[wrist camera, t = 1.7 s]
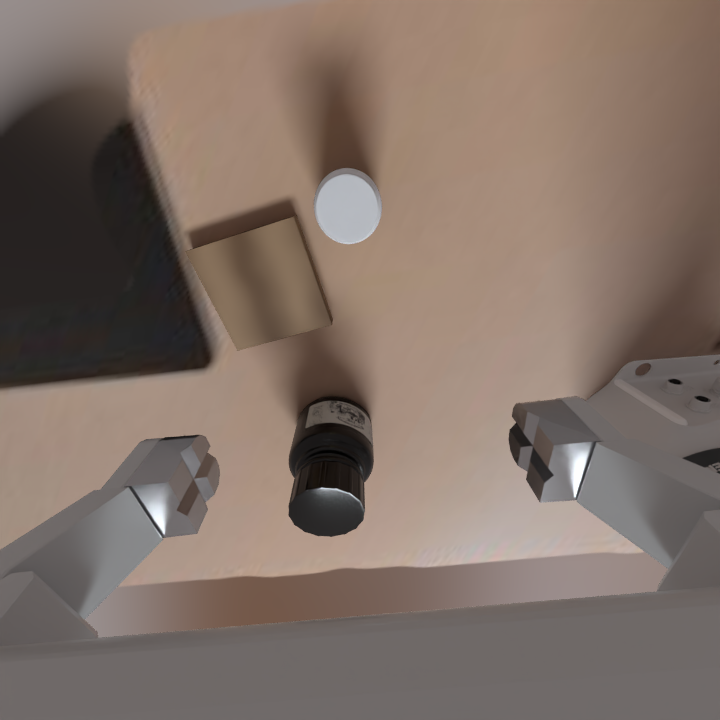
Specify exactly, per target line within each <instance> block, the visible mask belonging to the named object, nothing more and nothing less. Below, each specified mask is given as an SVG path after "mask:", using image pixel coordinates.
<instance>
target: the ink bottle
mask: <svg viewBox="0 0 720 720" xmlns="http://www.w3.org/2000/svg"><path fill="white" fill-rule="evenodd" d="M373 463H374V457H373V439H372V425H371V420H370V417H369V415H368V414H367V412H366V411H365V410H364V409H363V408H362V407H361V406H359V405H358V404H357V403H355V402H353V401H351V400H348V399H345V398H341V397H324V398H320V399H318V400H315V401H314V402H312V403H310V404H309V405H308V406H307V407H306V408H305V409H304V410H303V411H302V413H301V414H300V416H299V419H298V422H297V426H296V430H295V434H294V438H293V442H292V446H291V450H290V454H289V468H290V471H291V473H292V475H293V477H294V478H295V479H294V483H293V488H292V493H291V497H290V502H289V517H290V518H291V520H292V521H293V523H294V525H295V526H297V527H299V528H300V529H302V530H303V531H304V532H308V533H311V534H314V535H316V536H330V537H333V536H337V535H342V534H346V533H348V532H350V531H352V530H354V529H356V528H357V526H358V525H359V524H360V523H361V522H362V521H363V519H364V512H365V495H364V482H365V481H366V480H367V479H368V477H369V476H370V474H371V472H372V469H373Z"/></svg>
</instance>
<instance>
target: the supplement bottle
mask: <svg viewBox="0 0 720 720" xmlns="http://www.w3.org/2000/svg"><path fill="white" fill-rule="evenodd" d="M314 212H315V217H316V219H317V222H318V224H319V226H320V228H321V229H322V231H323V232H324V233H325V234H326V235H327V236H328V237H329V238H331V239H333V240H334V241H337V242H339V243H344V244H354V243H358V242H361V241H363V240H365V239H366V238H368V237H369V236H370V235H371V234H372V233H373V232H374V230H375V229H376V227H377V225H378V223H379V221H380V217H381V212H382V202H381V196H380V193H379V190H378V188H377V186H376V185H375V183H374V182H373V180H372V179H371V178H370V177H369V176H368V175H366V174H365V173H363V172H361V171H359V170H357V169H353V168H341V169H338V170H335V171H333V172H331V173H329V174H328V175H327V176H326V177H325V178H324V179H323V180H322V181H321V183H320V184H319V186H318V188H317V191H316V194H315V198H314Z"/></svg>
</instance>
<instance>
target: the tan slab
mask: <svg viewBox="0 0 720 720" xmlns="http://www.w3.org/2000/svg"><path fill="white" fill-rule="evenodd" d="M186 254H187V256H188V258H189V260H190V262H191V263H192V265H193V267H194V269H195V271H196V273H197V275H198V277H199V279H200V280H201V282H202V284H203V286H204V288H205V290H206V292H207V294H208V296H209V298H210V299H211V301H212V303H213V305H214V307H215V309H216V311H217V313H218V315H219V316H220V318H221V320H222V322H223V324H224V326H225V328H226V330H227V332H228V334H229V335H230V337H231V339H232V341H233V343H234V345H235V347H236V349H237V351H238V350H242V349H246V348H249V347H253V346H257V345H260V344H264V343H268V342H271V341H275V340H279V339H282V338H286V337H290V336H293V335H297V334H301V333H304V332H308V331H312V330H315V329H319V328H323V327H326V326H330V325H332V321H333V318H332V315H331V312H330V310H329V307H328V304H327V301H326V298H325V295H324V292H323V290H322V287H321V284H320V281H319V278H318V275H317V272H316V270H315V267H314V264H313V261H312V258H311V255H310V252H309V250H308V247H307V244H306V241H305V238H304V235H303V232H302V229H301V227H300V224H299V221H298V218H297V215H296V216H293V217H290V218H286V219H283V220H280V221H277V222H274V223H271V224H268V225H265V226H262V227H258V228H255V229H252V230H249V231H246V232H243V233H240V234H237V235H234V236H231V237H227V238H224V239H221V240H218V241H215V242H212V243H209V244H206V245H203V246H199V247H196V248H193V249H191V250H188V251H186Z"/></svg>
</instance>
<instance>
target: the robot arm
mask: <svg viewBox="0 0 720 720" xmlns="http://www.w3.org/2000/svg"><path fill="white" fill-rule="evenodd" d="M717 360H719V362H718V363H717V364H714V362H715V361H717ZM644 363H649V364H650V365H651V367H650V370H649V371H648V372H647V373H646V374H644V375H640V376H638V375H636V373H635V371H636V369H637V368H638V367H639V366H640V365H642V364H644ZM512 417H513V418H514V420H515V421H516V424H515V425H514V426H513V427H512V428H511V429H510V433H509V444H510V450H511V453H512V456H513V458H514V460H515V462H516V463H517V465H518V466H519V467H521V468H523V469H524V470H526V471H527V472H528V473H527V478H526V480H527V482H528V483H529V485H530V487H531V488H532V490H533V492H534V493H535V495H536V497H537V498H538V500H539V502H554V501H570V500H577V502H578V503H579V504H580V505H582V506H583V507H584V508H586V509H587V510H588V511H590V512H591V513H593V514H594V515H595V516H597V517H598V518H599V519H601V520H602V521H604V522H605V523H606V524H608V525H609V526H610V527H612V528H613V529H614V530H616V531H617V532H619V533H620V534H621V535H623V536H624V537H625V538H627V539H628V540H629V541H631V542H632V543H634V544H635V545H636V546H638V547H639V548H640V549H642V550H643V551H645V552H646V553H648V554H649V555H650V556H651V557H653V558H654V559H656V560H657V561H658V562H660V563H661V564H662V565H664V566H665V567H666V568H668V570H667V572H666V574H665V575H664V577H663V579H662V580H661V582H660V583H659V585H658V589H657V592H645V593H635V594H634V593H633V594H621V595H610V596H597V597H585V598H574V599H561V600H549V601H537V602H525V603H512V604H500V605H488V606H476V607H464V608H451V609H439V610H427V611H415V612H403V613H390V614H378V615H366V616H355V617H343V618H331V619H320V620H307V621H295V622H283V623H271V624H259V625H247V626H235V627H223V628H211V629H199V630H187V631H175V632H163V633H151V634H139V635H127V636H114V637H102V638H98V633H97V631H96V630H95V629H94V628H93V627H92V626H90V624H88V623H87V622H86V621H85V619H86V618H87V617H88V616H89V614H91V613H92V612H93V611H94V610H95V609H96V608H97V607H98V606H99V605H100V604H101V603H102V601H103V600H104V599H106V598H107V596H108V595H109V594H110V593H111V592H112V591H113V590H114V589H115V588H116V587H117V586H118V585H119V584H120V583H121V582H122V581H123V580H124V579H125V578H126V577H127V576H128V575H129V574H130V573H131V572H132V571H133V570H134V569H135V568H136V567H137V566H138V565H139V564H140V563H141V562H142V561H143V560H144V559H145V558H146V557H147V556H148V555H149V554H150V553H151V552H152V551H153V549H154V548H155V547H156V546H157V545H158V544H159V543H160V542H161V541H162V540H163V538H166V537H174V536H182V535H190V534H197V533H198V531H199V528H200V526H201V524H202V522H203V519H204V517H205V515H206V513H207V510H208V508H207V505H206V503H205V502H206V501H207V500H209V499H210V498H211V497H212V496H213V495H214V494H215V492H216V490H217V487H218V485H219V477H220V470H219V465H218V462H217V460H216V458H215V457H213V456H212V455H210V454H209V453H207V452H208V450H209V448H210V444H209V442H208V440H207V438H206V437H205V436H203V435H191V436H178V437H165V438H156V439H146V440H144V441H142V442H140V443H139V444H138V445H137V446H136V447H135V449H134V450H133V451H132V452H131V453H130V455H129V456H128V457H127V458H126V459H125V461H124V462H123V463H122V464H121V465H120V467H119V468H118V469H117V470H116V472H115V473H114V474H113V475H112V476H111V478H110V479H109V480H108V481H107V482H106V484H105V485H104V486H103V487H102V488H101V490H94V491H92V492H91V493H89V494H88V495H86V496H84V497H83V498H81V499H80V500H78V501H77V502H75V503H73V504H72V505H70V506H69V507H67V508H66V509H64V510H62V511H61V512H59V513H58V514H56V515H55V516H53V517H51V518H50V519H48V520H47V521H45V522H44V523H42V524H40V525H39V526H37V527H36V528H34V529H33V530H31V531H29V532H28V533H26V534H25V535H23V536H21V537H20V538H18V539H17V540H15V541H14V542H12V543H10V544H9V545H7V546H6V547H4V548H3V549H1V550H0V720H720V354H718V355H704V356H691V357H677V358H664V359H650V360H637V361H632V362H629V363H627V364H626V365H624V366H623V367H622V368H621V369H620V370H619V371H618V373H617V374H616V375H615V376H614V377H613V379H612V380H611V381H610V382H609V383H608V384H607V385H606V386H605V387H603V388H602V389H601V390H599V391H598V392H597V393H595V394H594V395H593V396H591V397H590V398H589V399H588V400H587V401H585V400H584V399H582V398H580V397H577V396H574V397H566V398H558V399H555V400H544V401H535V402H525V403H516V404H515V406H514V408H513V413H512Z"/></svg>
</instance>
